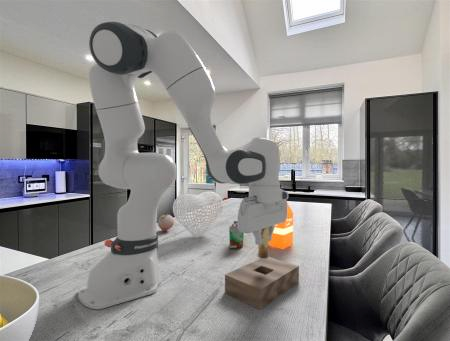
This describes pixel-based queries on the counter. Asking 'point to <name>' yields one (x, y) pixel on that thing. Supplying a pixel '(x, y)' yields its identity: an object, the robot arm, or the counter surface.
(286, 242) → the orange juice
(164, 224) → the decorative fruit
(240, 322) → the counter surface
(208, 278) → the counter surface
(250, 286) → the hole block
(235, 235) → the food container
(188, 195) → the heart
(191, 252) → the counter surface
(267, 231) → the peg
